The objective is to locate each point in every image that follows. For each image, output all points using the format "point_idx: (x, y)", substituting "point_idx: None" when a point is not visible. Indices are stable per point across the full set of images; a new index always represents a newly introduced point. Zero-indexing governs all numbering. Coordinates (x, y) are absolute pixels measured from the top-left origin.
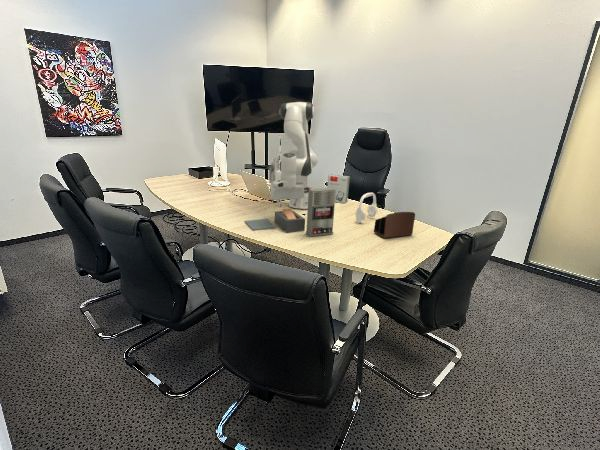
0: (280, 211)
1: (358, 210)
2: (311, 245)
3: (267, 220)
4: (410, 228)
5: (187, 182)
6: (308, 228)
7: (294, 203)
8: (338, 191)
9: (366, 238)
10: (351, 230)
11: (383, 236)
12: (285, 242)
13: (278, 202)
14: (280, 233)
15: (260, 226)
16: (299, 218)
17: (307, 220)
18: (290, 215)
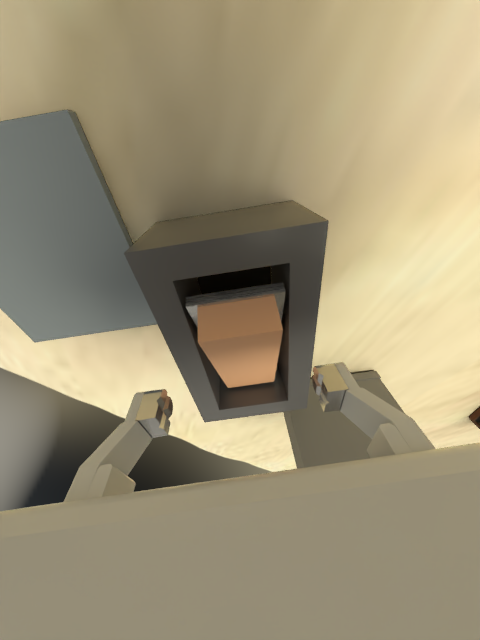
0: (189, 257)
1: None
2: (254, 436)
3: (88, 183)
4: None
5: None
6: (287, 413)
7: (325, 410)
8: None
9: (424, 416)
10: (457, 371)
11: (472, 419)
12: (188, 423)
13: (122, 468)
14: (180, 372)
15: (66, 309)
16: (280, 403)
17: (295, 439)
18: (247, 368)
